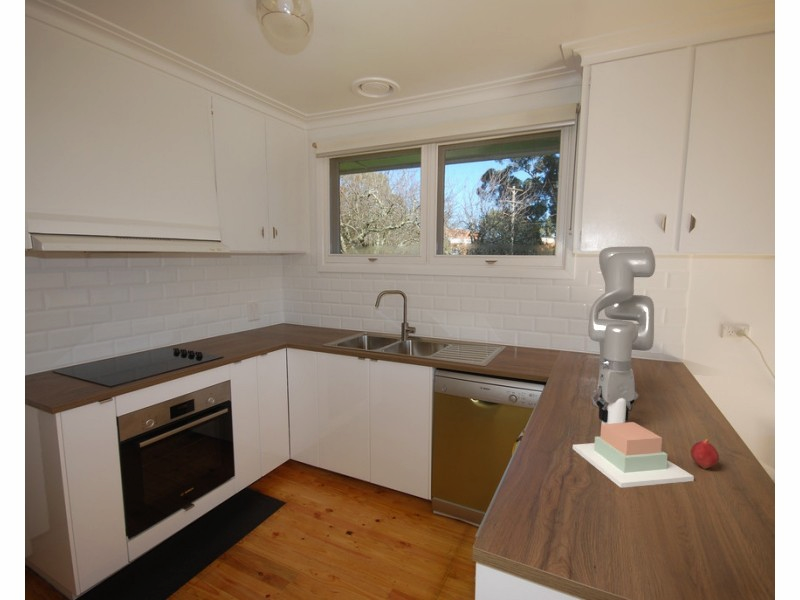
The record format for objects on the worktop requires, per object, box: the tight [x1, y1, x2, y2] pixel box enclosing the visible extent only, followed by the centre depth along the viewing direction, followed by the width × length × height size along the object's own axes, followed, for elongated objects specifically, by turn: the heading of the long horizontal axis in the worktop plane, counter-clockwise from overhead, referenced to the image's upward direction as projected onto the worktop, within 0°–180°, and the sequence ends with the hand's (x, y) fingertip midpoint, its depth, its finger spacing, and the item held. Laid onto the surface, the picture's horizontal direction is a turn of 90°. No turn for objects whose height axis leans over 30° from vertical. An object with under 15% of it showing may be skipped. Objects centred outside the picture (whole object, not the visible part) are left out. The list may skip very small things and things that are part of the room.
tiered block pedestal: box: [572, 421, 695, 489], centre depth 107 cm, size 20×20×9 cm
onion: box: [690, 439, 720, 470], centre depth 104 cm, size 6×6×8 cm
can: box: [601, 398, 626, 424], centre depth 125 cm, size 6×6×12 cm
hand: (613, 419), depth 125 cm, fingers closed on can, 6 cm apart
